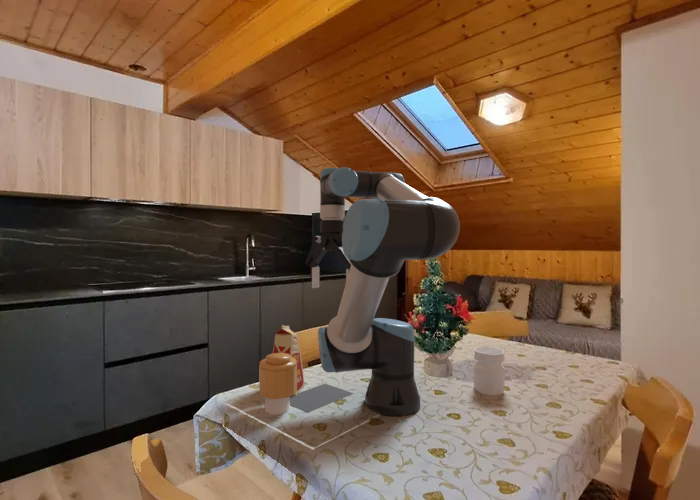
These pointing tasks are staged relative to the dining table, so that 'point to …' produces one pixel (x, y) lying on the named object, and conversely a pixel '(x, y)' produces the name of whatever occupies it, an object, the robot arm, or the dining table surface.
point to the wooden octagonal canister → (278, 376)
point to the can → (277, 405)
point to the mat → (317, 397)
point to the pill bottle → (489, 371)
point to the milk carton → (290, 351)
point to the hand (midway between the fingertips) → (332, 289)
